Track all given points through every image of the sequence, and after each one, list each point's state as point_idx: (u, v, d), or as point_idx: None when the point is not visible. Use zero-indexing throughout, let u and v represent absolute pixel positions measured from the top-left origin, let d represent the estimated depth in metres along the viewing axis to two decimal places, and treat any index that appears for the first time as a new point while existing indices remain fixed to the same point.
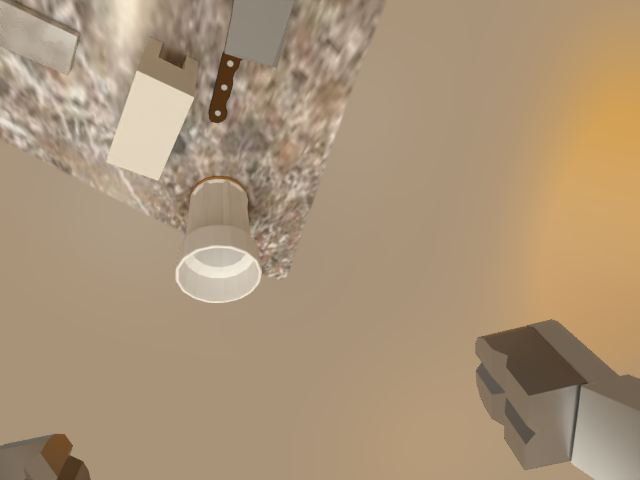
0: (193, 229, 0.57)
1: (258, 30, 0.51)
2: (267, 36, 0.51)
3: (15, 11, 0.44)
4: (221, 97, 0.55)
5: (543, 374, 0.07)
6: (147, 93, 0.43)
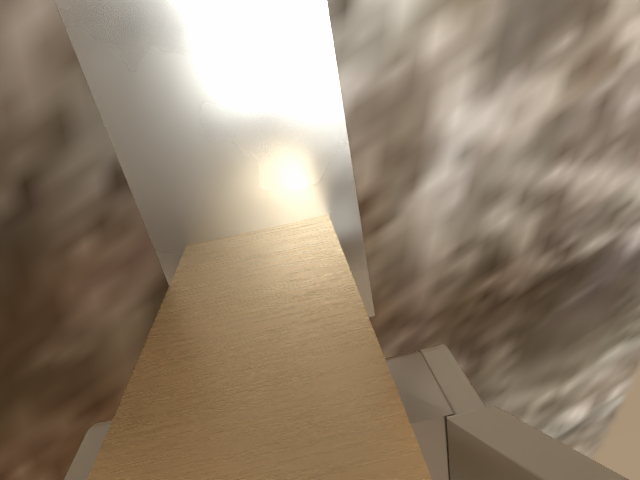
0: None
1: None
2: None
3: None
4: None
5: (414, 404, 0.06)
6: None
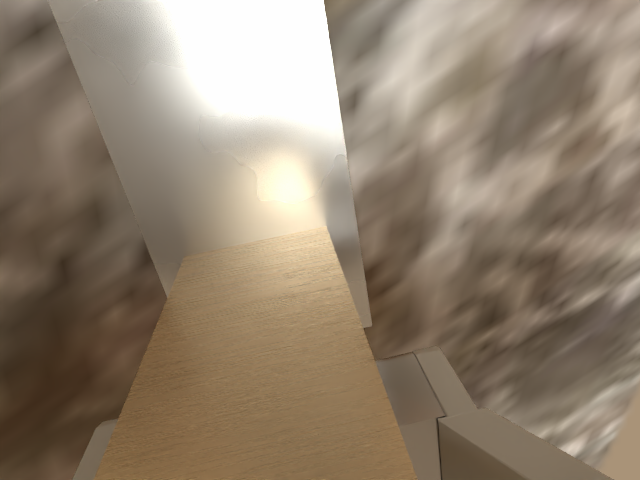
0: None
1: None
2: None
3: (76, 10, 0.08)
4: None
5: (406, 406, 0.06)
6: None
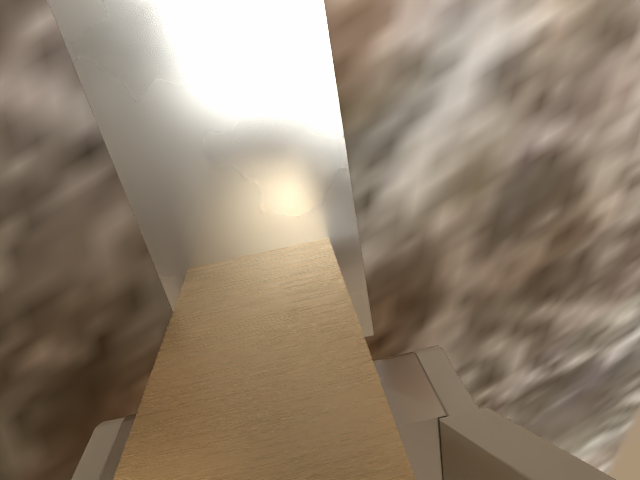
0: None
1: None
2: None
3: (83, 30, 0.08)
4: None
5: (407, 406, 0.06)
6: None
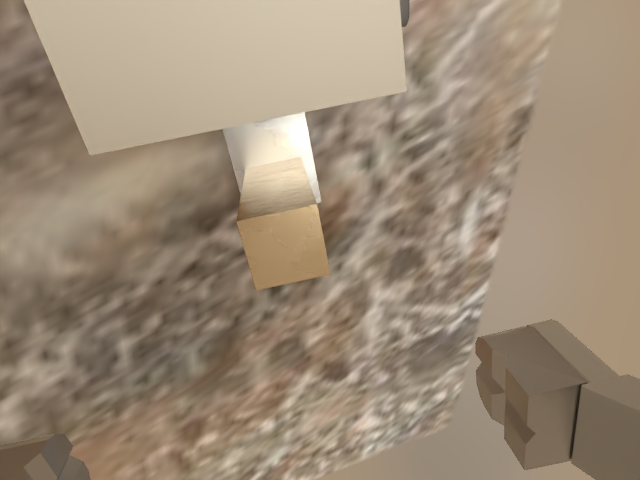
0: None
1: None
2: None
3: None
4: None
5: (543, 374, 0.07)
6: (122, 99, 0.14)
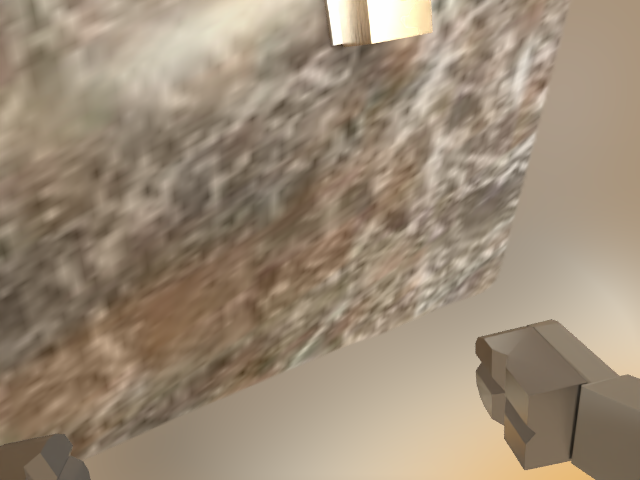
0: None
1: None
2: None
3: None
4: None
5: (543, 374, 0.07)
6: None
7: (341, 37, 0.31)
